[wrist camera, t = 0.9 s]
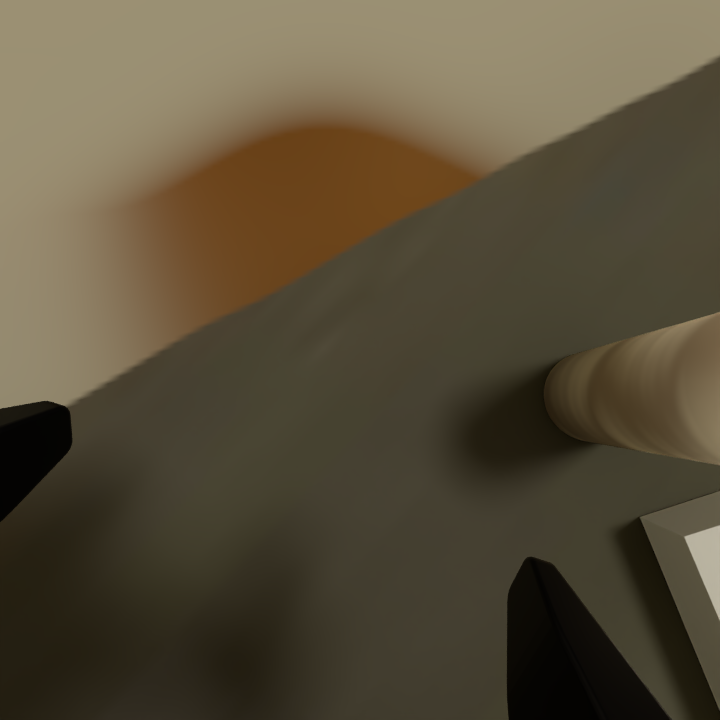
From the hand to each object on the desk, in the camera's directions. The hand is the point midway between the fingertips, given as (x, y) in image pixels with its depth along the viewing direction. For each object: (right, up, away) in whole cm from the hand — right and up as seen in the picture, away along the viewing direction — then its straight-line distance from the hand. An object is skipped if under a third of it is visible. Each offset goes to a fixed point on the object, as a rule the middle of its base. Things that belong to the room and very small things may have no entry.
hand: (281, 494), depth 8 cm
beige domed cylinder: (+13, +1, +13) cm, 18 cm away
